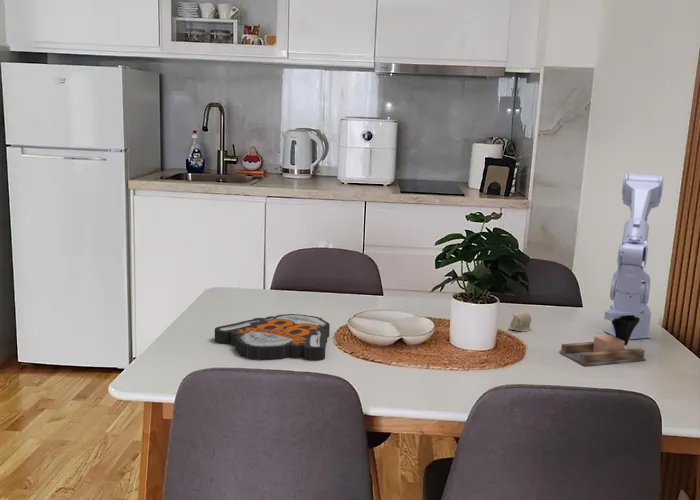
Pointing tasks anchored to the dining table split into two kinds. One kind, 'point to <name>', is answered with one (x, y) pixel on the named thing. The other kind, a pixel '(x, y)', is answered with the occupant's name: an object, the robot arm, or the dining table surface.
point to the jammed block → (607, 343)
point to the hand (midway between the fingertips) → (621, 344)
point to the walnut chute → (600, 354)
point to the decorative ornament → (521, 321)
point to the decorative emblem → (277, 337)
